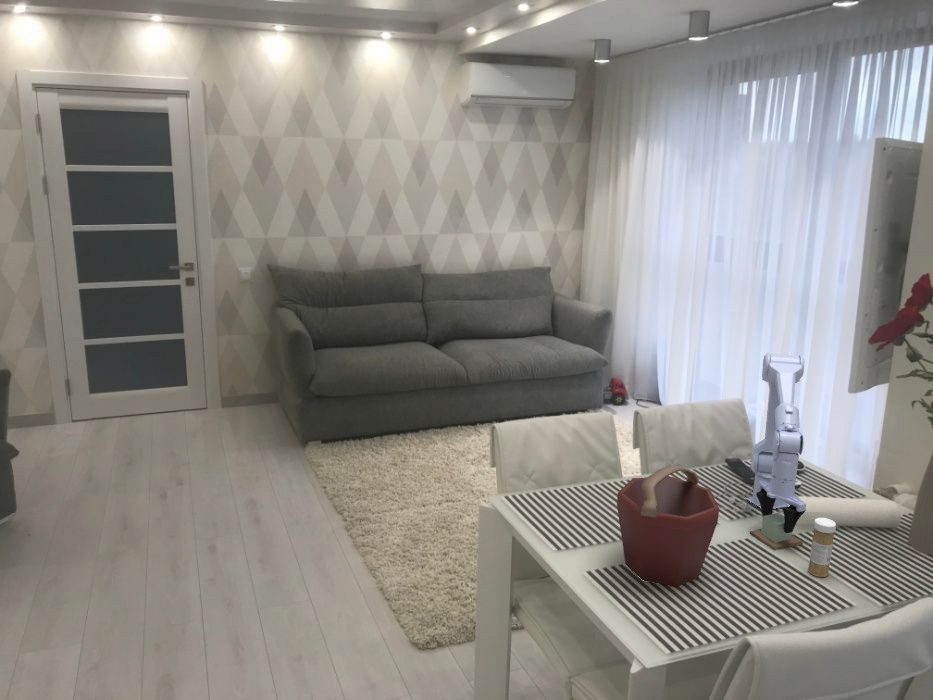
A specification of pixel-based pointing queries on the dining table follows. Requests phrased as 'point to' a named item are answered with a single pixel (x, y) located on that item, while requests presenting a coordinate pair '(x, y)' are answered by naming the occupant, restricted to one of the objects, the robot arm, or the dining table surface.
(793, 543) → the walnut board
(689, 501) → the bucket
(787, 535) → the green cube
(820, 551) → the sprinkles bottle
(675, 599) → the dining table surface
